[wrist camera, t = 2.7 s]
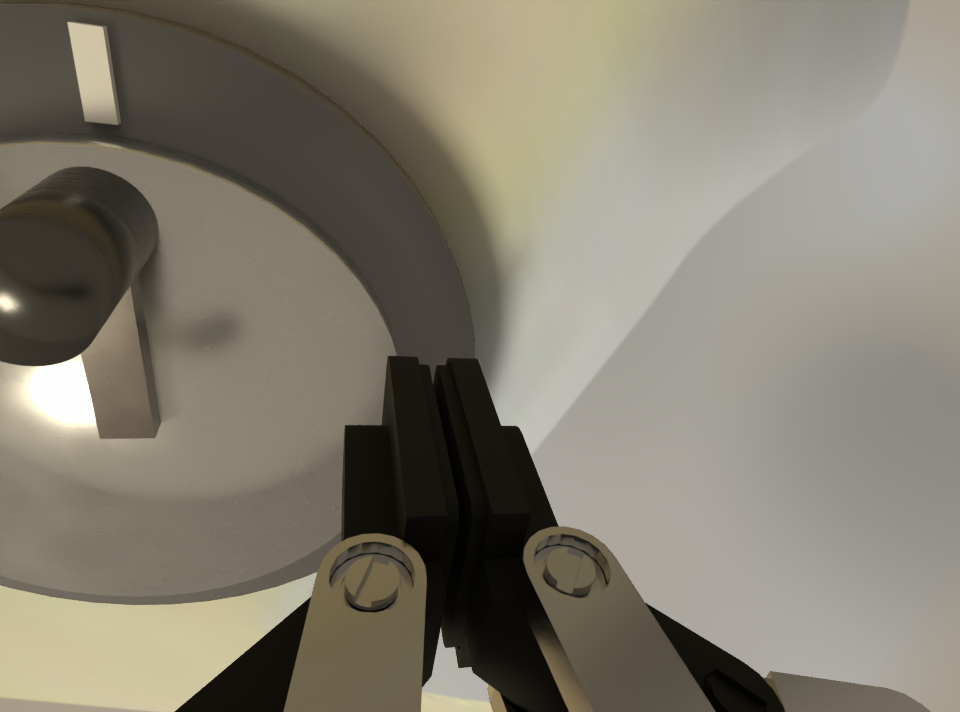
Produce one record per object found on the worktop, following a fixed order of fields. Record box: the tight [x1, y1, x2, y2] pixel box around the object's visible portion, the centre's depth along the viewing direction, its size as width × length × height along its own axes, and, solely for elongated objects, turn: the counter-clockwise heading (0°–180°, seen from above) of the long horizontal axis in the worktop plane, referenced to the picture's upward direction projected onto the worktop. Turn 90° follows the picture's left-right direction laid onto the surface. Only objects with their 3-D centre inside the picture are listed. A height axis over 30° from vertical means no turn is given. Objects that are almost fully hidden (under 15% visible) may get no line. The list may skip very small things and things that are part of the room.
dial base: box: [0, 3, 474, 605], centre depth 22 cm, size 24×24×2 cm
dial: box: [0, 132, 398, 597], centre depth 18 cm, size 18×18×6 cm
